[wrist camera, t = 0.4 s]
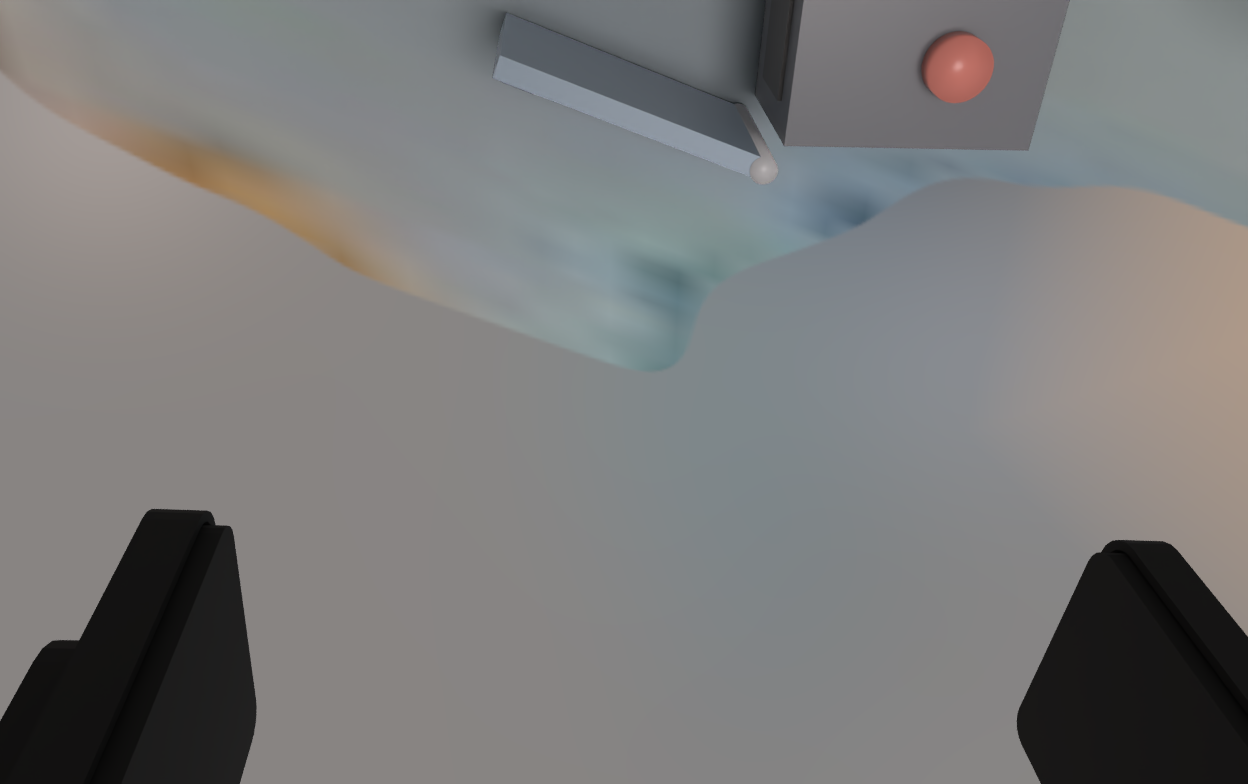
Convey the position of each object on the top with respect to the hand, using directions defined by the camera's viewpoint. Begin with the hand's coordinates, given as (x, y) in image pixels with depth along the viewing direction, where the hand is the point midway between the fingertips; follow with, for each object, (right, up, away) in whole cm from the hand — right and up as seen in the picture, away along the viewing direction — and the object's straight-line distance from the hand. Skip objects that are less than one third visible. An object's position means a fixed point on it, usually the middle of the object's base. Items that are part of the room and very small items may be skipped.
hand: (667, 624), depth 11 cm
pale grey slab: (0, +15, +28) cm, 32 cm away
